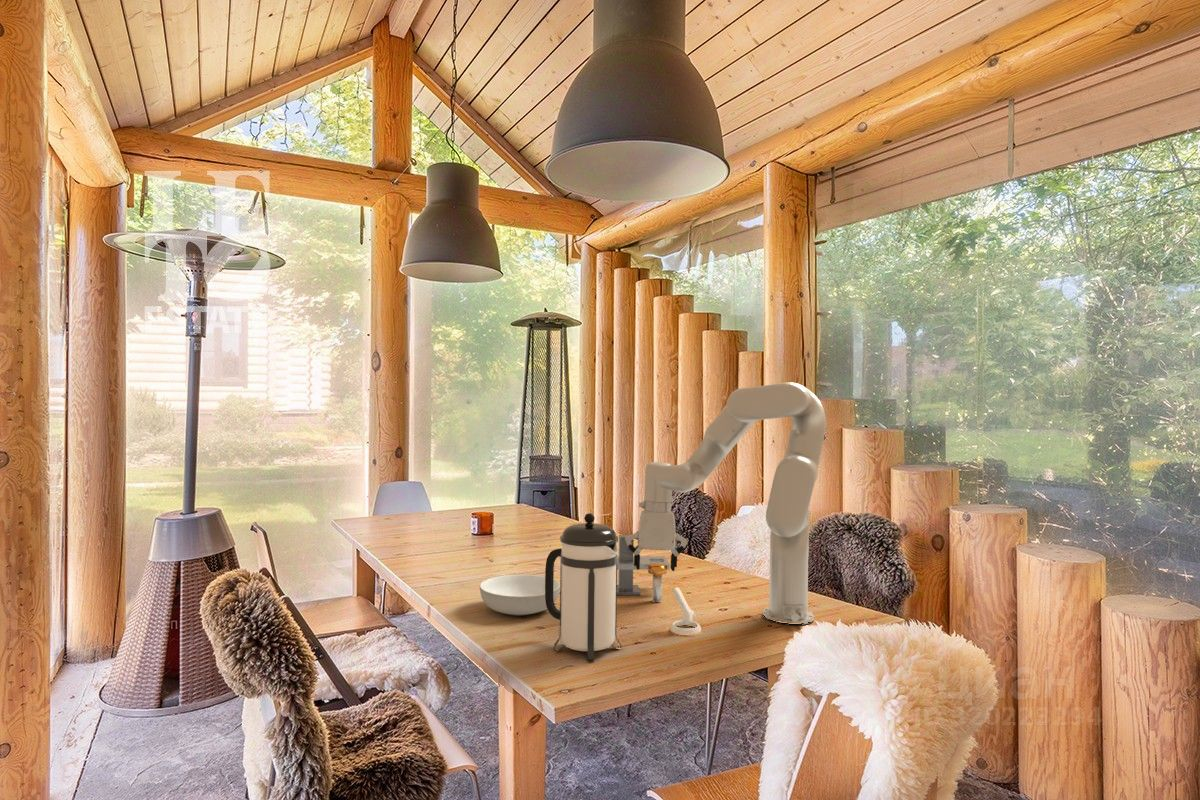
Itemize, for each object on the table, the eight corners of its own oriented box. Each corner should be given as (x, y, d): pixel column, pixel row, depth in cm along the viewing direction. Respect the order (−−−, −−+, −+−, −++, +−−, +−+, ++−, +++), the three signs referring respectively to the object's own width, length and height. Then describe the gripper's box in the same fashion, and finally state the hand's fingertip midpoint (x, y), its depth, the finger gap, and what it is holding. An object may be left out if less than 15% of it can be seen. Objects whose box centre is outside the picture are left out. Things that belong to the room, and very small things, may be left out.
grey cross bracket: (669, 596, 191) (669, 539, 191) (612, 596, 191) (613, 539, 191) (664, 586, 201) (665, 532, 201) (610, 586, 201) (611, 532, 201)
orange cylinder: (667, 604, 184) (668, 567, 184) (648, 604, 183) (649, 567, 184) (665, 598, 189) (665, 562, 189) (646, 598, 189) (647, 562, 189)
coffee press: (619, 636, 158) (620, 507, 158) (623, 662, 142) (625, 519, 142) (544, 636, 157) (546, 507, 157) (540, 662, 141) (542, 518, 141)
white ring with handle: (659, 599, 170) (682, 585, 169) (683, 644, 165) (707, 630, 164) (650, 601, 163) (674, 586, 162) (675, 648, 159) (700, 633, 157)
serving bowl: (483, 626, 164) (484, 597, 164) (475, 601, 184) (476, 576, 184) (567, 620, 170) (567, 592, 170) (551, 596, 190) (551, 572, 190)
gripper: (627, 508, 182) (624, 571, 182) (691, 510, 183) (688, 573, 183) (625, 504, 190) (622, 564, 190) (686, 506, 190) (684, 566, 191)
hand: (655, 569), depth 186 cm, fingers open, 9 cm apart
